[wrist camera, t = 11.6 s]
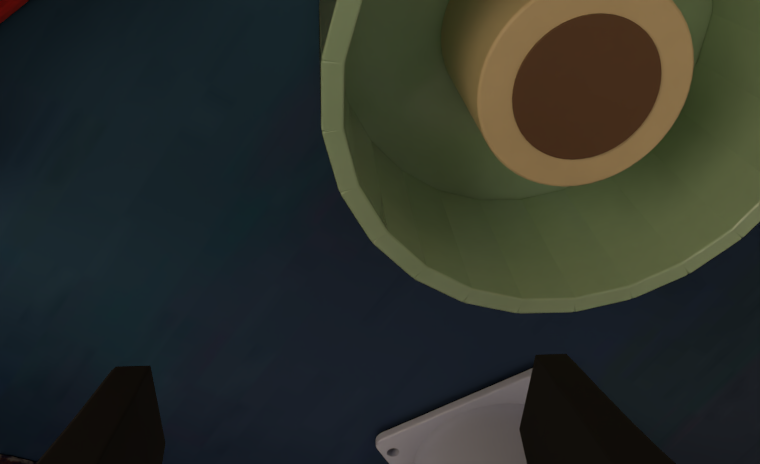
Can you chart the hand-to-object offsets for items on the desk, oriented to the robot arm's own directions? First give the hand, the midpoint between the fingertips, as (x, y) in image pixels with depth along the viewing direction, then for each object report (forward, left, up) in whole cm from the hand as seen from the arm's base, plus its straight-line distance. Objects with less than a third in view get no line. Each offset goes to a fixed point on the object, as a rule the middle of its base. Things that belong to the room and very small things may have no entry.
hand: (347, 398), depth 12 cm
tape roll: (+1, -7, -10) cm, 12 cm away
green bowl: (+1, -7, -10) cm, 13 cm away
